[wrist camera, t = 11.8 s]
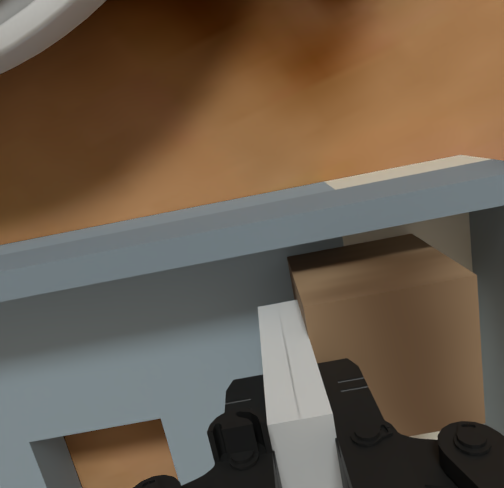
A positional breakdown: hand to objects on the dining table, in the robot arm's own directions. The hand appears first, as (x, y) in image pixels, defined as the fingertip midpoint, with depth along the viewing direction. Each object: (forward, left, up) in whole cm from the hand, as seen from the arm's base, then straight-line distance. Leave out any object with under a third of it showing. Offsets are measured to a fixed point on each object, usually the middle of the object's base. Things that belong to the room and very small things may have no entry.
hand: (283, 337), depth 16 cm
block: (+3, 0, -2) cm, 4 cm away
